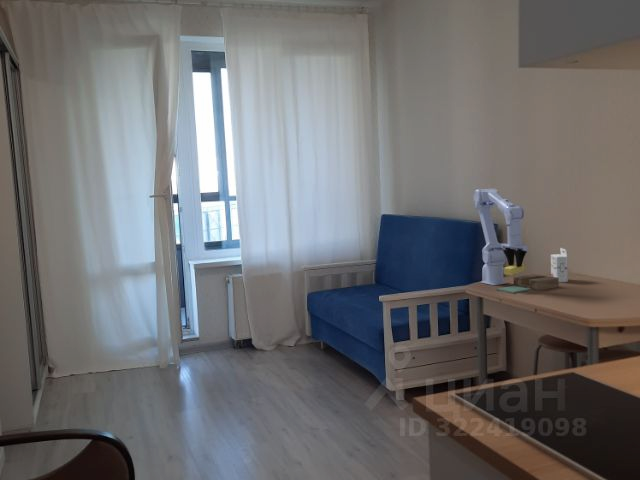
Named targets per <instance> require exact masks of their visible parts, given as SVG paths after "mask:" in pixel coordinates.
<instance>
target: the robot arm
mask: <svg viewBox="0 0 640 480" xmlns="http://www.w3.org/2000/svg"><path fill="white" fill-rule="evenodd" d="M473 202H474V206H475V209H477V211H478V214H479V219H480V223H481V227H482V232H483V235H484V240H485V245H484V247H482V250H481V252H482V261H483V263H484V264H483V266H482V271H481V272H482V273H481V274H482V275H481V277H482V278H481V279H482V280H481V282H480V283H481V284H486V285H492V286H499V285H505V284H508V283H509V282H508V281H505V280H504V278H505V277H504V269H503V268H504V265H505V264H506V262H507V264H508V266H511V265H513V264H516V265H517V267H521V266H522V264H523V261H524V258H525V257H526V254H527V253H528V251H530V245H525V244H523V243H522V240H523V239H522V220H523V218H524V217H525V212H524V208H523V207H522V206H521V205H515V204H514V203H513V202H511V201H510V200H509V198H502V196H501V195H500V194H499V191H498V190H497V188H495V187H494V188H486V189H485V188H483V189H479V188H478V189H475V190H474V193H473ZM495 205H496V206H497V209H498V210H499V211H500V212H501V213H502V214H503V215H504V219H505V224H506V226H507V229H506V230H507V243H505V242H504V243H500V242H499V241H498V238H497V232H496V230H495V226H494V221H493V218H492V213H491V210H492V209H493V208H494V207H495Z"/></svg>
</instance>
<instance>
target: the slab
mask: <svg viewBox="0 0 640 480" xmlns="http://www.w3.org/2000/svg"><path fill="white" fill-rule="evenodd" d="M524 271H526V267H525V264H524V263H522V266H521V267H517V265H516V263H514V264H513V265H511V266H509V265H508V266H505V267H503V275H507V276H513V275H516V274H520V273H522V272H524Z"/></svg>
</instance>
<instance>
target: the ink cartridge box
mask: <svg viewBox="0 0 640 480" xmlns="http://www.w3.org/2000/svg"><path fill="white" fill-rule="evenodd" d="M559 248H560V249H559V250H560V254H559V253H556V254H555V253H554V254H550V276H551V277H557V278H558V282H559V283H567V282H568V281H569V277H568V276H569V273H568V272H569V271H568V252H567V249H565V248H563V247H559Z"/></svg>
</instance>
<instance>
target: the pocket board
mask: <svg viewBox="0 0 640 480" xmlns="http://www.w3.org/2000/svg"><path fill="white" fill-rule="evenodd" d="M559 283H560V282H558V278H557V277H551V275H550V276H549V275H545V274H544V275H542V274H537V273H532V274H531V273H530V274H524V275H517V276H514V277H513V286H518V287H523V288H528V289H531V290H532V289H533V290H532V291H537V290H538V291H543V290H549V289H554V288H559Z"/></svg>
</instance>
